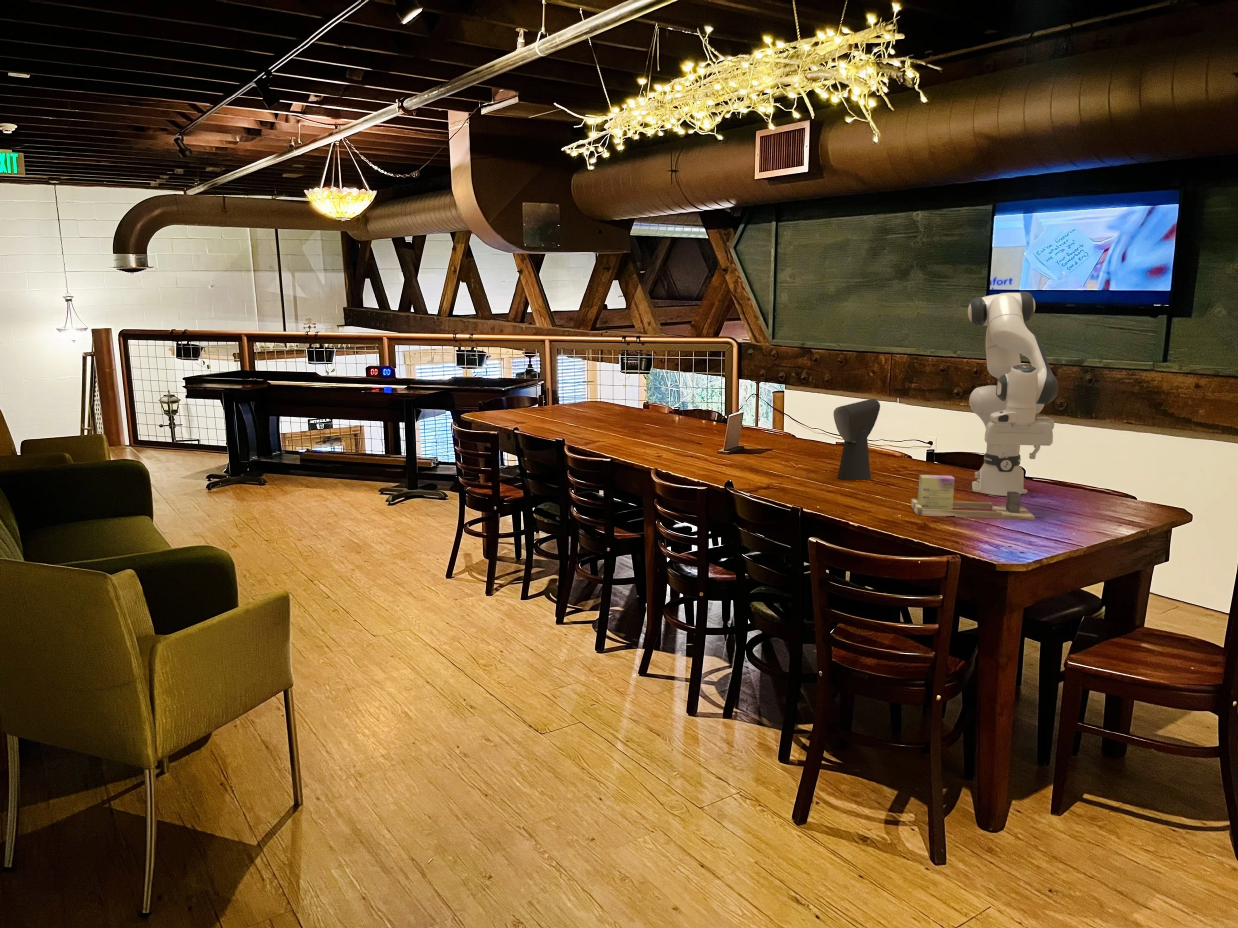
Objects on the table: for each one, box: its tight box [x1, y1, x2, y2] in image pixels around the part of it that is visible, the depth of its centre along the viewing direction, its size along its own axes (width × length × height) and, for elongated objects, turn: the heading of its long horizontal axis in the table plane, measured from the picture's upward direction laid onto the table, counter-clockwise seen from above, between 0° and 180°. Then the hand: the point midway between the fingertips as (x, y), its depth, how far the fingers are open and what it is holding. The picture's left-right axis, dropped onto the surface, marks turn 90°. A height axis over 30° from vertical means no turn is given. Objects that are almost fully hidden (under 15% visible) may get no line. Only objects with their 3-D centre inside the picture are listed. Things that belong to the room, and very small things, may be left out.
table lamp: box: [806, 398, 881, 482], centre depth 343 cm, size 40×28×30 cm
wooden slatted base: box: [910, 491, 1036, 521], centre depth 293 cm, size 14×36×7 cm, turn 80°
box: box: [917, 474, 956, 510], centre depth 295 cm, size 10×6×12 cm, turn 80°
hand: (1016, 458), depth 288 cm, fingers open, 8 cm apart
